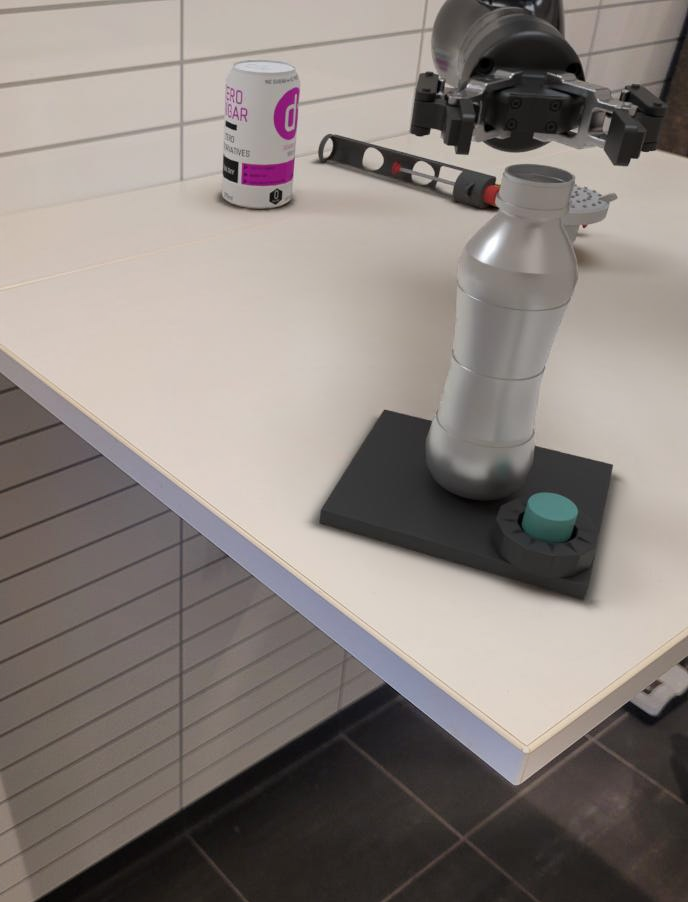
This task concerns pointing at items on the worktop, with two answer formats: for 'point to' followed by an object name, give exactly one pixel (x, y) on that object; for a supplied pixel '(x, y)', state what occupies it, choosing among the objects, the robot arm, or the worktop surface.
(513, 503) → the scale
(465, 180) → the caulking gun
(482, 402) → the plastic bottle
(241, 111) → the supplement can
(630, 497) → the worktop surface
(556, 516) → the button
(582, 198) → the showerhead
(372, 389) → the worktop surface
